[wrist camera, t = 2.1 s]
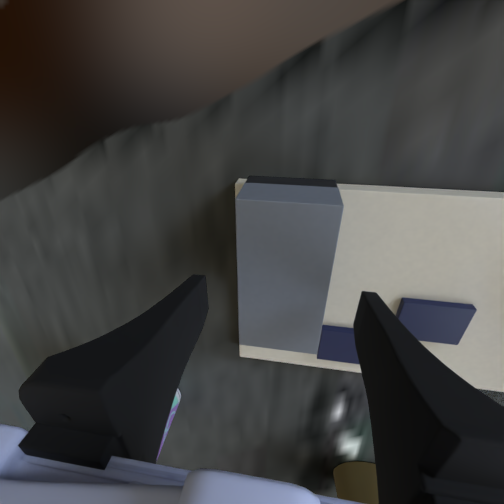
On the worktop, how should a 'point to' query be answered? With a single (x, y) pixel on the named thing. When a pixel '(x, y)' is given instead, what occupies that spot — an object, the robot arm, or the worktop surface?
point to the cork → (356, 482)
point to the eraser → (285, 259)
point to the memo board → (419, 269)
